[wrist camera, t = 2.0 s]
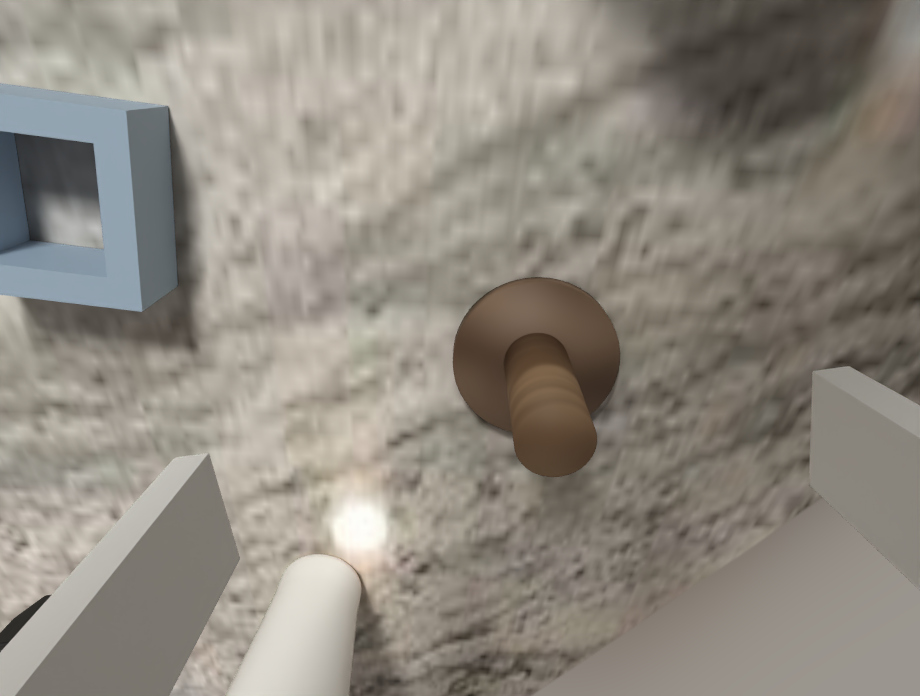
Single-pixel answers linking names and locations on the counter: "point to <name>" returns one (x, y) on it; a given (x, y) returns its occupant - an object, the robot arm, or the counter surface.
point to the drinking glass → (305, 633)
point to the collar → (120, 196)
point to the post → (538, 369)
